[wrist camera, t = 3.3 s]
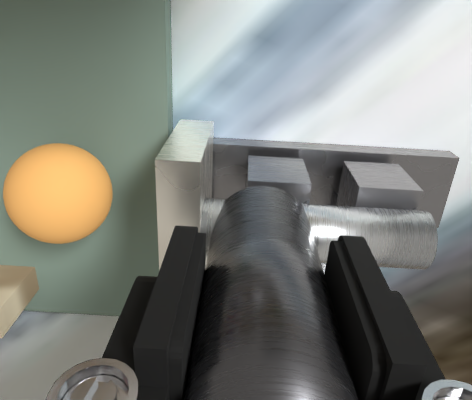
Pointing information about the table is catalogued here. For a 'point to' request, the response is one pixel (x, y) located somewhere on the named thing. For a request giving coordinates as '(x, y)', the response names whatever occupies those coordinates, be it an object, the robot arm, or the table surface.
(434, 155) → the track
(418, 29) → the table surface
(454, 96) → the table surface
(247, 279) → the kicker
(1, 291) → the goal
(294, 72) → the table surface
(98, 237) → the mat
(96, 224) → the ball
